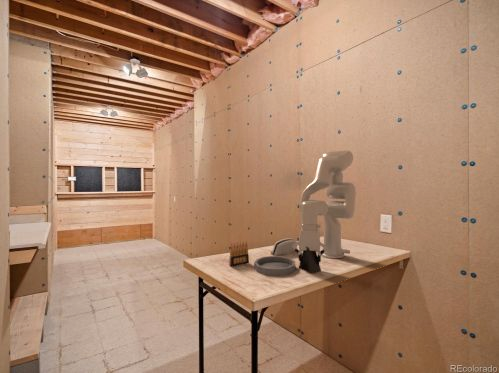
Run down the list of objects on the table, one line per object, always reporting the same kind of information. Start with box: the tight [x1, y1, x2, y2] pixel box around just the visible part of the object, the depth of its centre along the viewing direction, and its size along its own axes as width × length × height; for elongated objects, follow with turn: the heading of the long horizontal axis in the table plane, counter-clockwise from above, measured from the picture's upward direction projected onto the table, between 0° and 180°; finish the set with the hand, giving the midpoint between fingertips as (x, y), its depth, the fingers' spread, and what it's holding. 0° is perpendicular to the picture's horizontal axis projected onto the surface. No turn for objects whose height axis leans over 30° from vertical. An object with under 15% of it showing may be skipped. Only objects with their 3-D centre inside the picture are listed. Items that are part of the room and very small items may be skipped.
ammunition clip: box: [228, 240, 250, 268], centre depth 133 cm, size 11×2×12 cm, turn 119°
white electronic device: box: [270, 237, 298, 256], centre depth 153 cm, size 17×5×10 cm, turn 122°
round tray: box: [253, 255, 296, 277], centre depth 127 cm, size 20×20×3 cm
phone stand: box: [298, 247, 322, 274], centre depth 124 cm, size 9×6×12 cm, turn 31°
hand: (309, 262), depth 124 cm, fingers open, 7 cm apart
